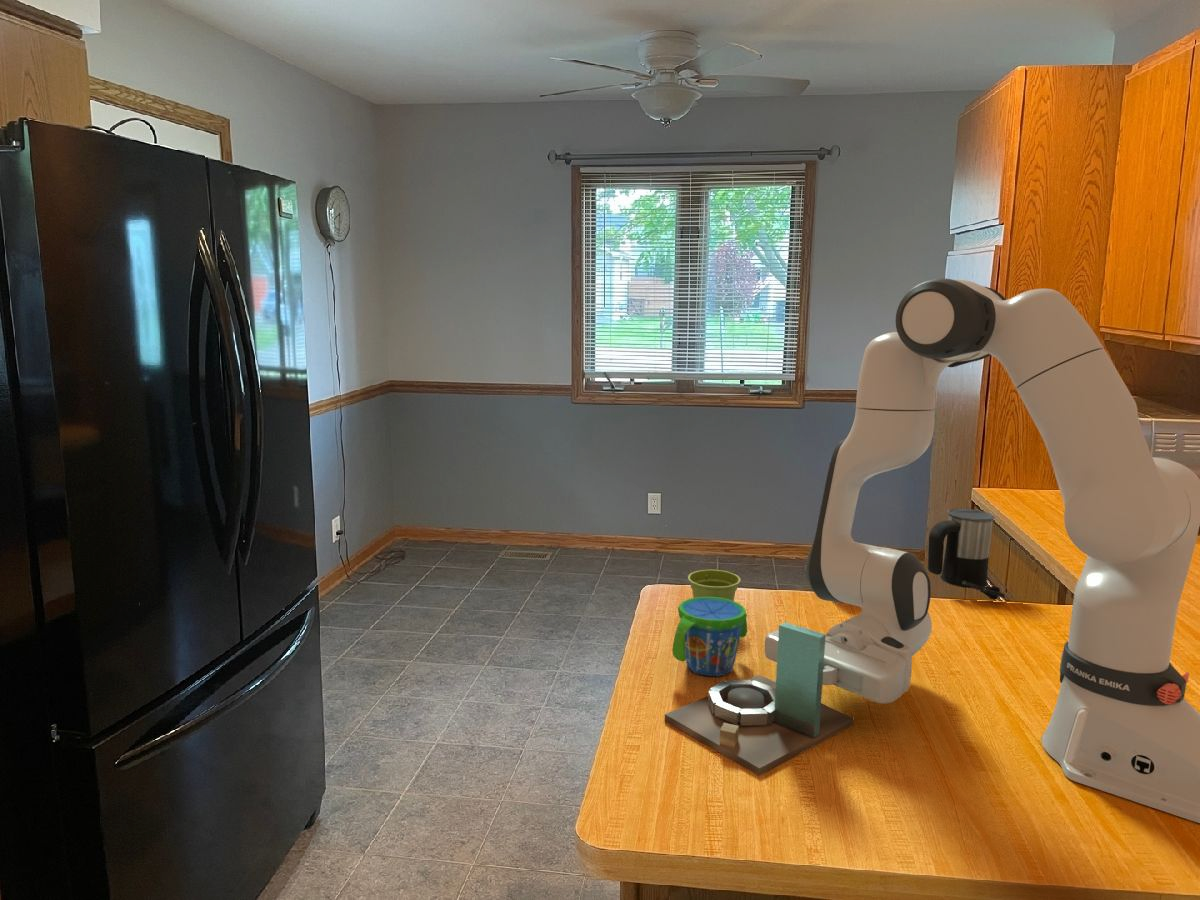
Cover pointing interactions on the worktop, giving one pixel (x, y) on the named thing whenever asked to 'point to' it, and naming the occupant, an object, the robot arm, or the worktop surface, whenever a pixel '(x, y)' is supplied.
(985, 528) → the milk frother
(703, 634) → the snack cup
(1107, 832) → the worktop surface
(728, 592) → the plant pot
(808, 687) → the ring with upright panel
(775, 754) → the base
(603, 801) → the worktop surface
